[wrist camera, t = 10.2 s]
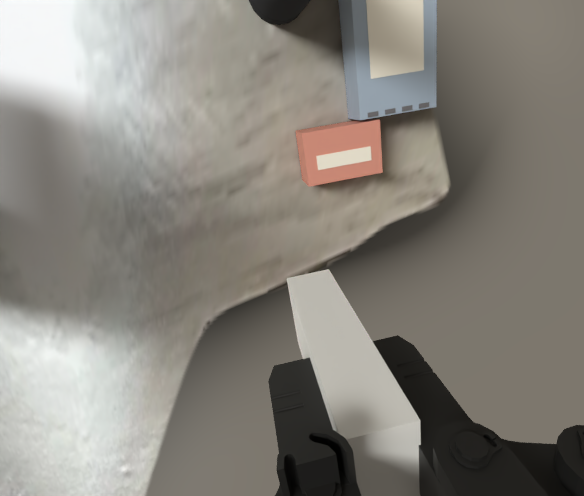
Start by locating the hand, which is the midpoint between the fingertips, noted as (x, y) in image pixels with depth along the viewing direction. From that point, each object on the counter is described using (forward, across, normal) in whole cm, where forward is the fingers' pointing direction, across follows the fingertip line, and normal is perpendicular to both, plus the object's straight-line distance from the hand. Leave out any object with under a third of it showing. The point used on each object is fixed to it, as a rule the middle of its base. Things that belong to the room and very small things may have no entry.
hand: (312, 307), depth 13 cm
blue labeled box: (+34, +17, +10) cm, 40 cm away
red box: (+34, +10, 0) cm, 36 cm away
